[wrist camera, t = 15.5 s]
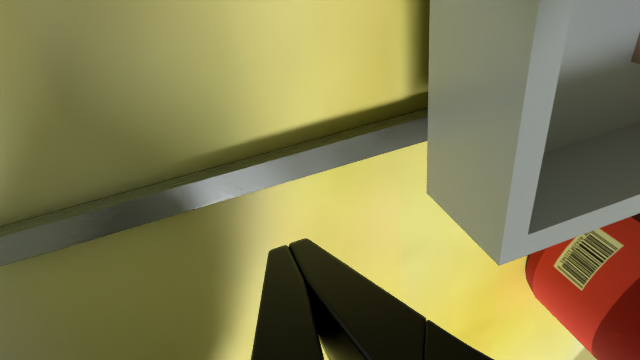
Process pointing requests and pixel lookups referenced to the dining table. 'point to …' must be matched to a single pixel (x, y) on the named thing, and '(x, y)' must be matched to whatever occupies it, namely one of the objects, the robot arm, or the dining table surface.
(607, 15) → the grey open tray
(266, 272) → the robot arm
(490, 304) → the dining table surface
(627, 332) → the canned food
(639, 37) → the walnut block
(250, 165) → the track
